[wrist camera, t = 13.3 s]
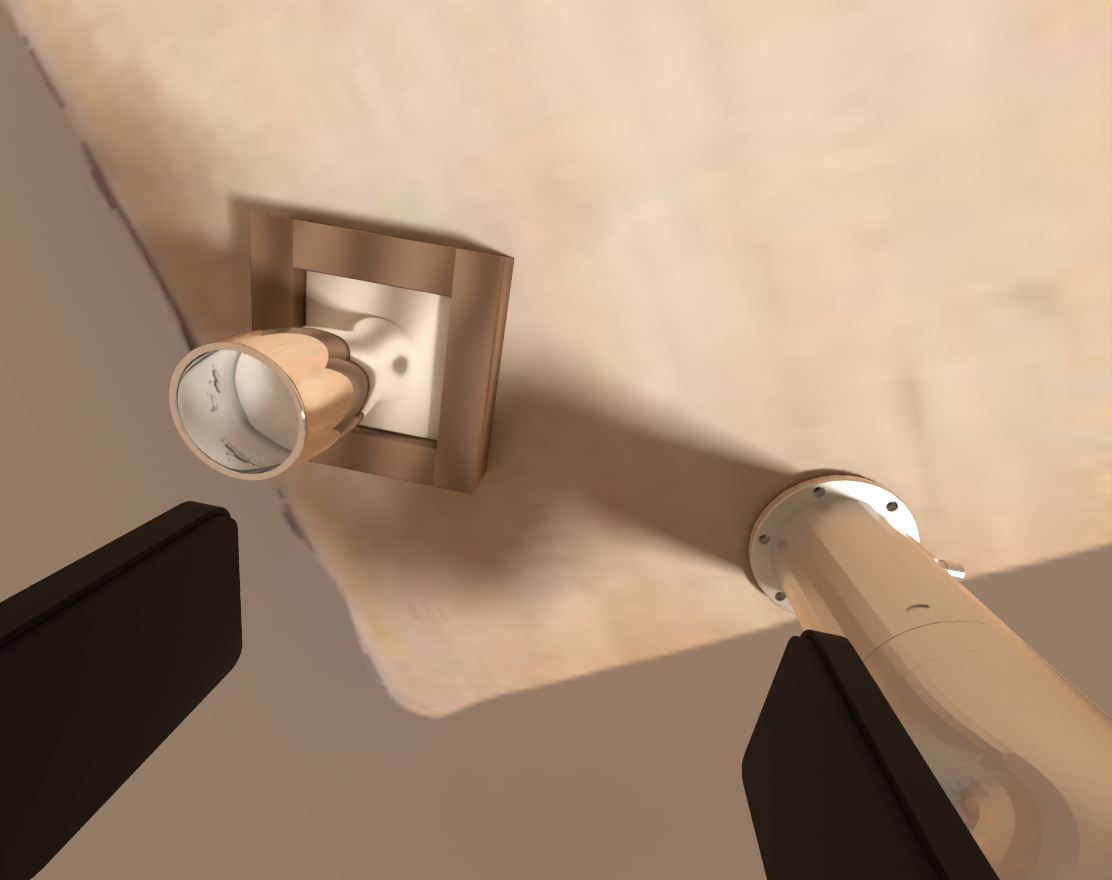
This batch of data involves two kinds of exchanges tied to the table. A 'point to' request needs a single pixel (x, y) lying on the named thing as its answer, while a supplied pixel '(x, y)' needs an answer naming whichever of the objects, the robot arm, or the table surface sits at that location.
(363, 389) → the beer glass
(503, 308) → the frame
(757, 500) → the table surface
